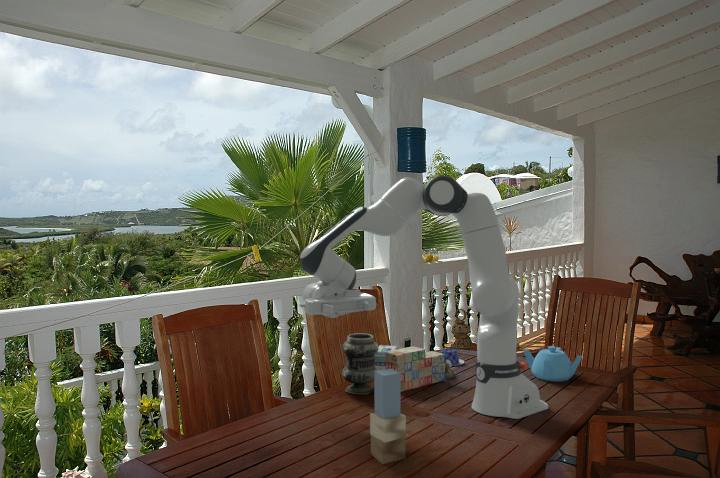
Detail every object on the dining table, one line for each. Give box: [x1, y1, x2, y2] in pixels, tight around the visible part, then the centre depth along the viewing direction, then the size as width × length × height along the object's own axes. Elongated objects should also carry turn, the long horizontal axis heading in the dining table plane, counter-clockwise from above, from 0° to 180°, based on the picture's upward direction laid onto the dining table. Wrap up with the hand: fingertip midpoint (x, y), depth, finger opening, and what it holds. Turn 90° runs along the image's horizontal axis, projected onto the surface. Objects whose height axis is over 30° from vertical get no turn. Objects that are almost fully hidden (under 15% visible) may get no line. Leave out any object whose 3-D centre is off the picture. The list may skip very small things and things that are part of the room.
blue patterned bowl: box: [440, 348, 465, 367], centre depth 216 cm, size 12×12×5 cm
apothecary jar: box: [341, 332, 379, 396], centre depth 181 cm, size 12×12×18 cm
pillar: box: [373, 369, 402, 419], centre depth 129 cm, size 4×4×10 cm
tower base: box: [370, 434, 406, 465], centre depth 130 cm, size 6×6×5 cm
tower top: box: [369, 411, 407, 443], centre depth 130 cm, size 6×6×5 cm
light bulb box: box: [375, 344, 398, 370], centre depth 194 cm, size 11×7×11 cm, turn 168°
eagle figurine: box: [445, 359, 456, 381], centre depth 197 cm, size 8×7×9 cm
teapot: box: [523, 345, 583, 383], centre depth 195 cm, size 15×15×11 cm
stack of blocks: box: [386, 346, 446, 393], centre depth 187 cm, size 21×6×12 cm, turn 126°
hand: (351, 308), depth 147 cm, fingers open, 8 cm apart
